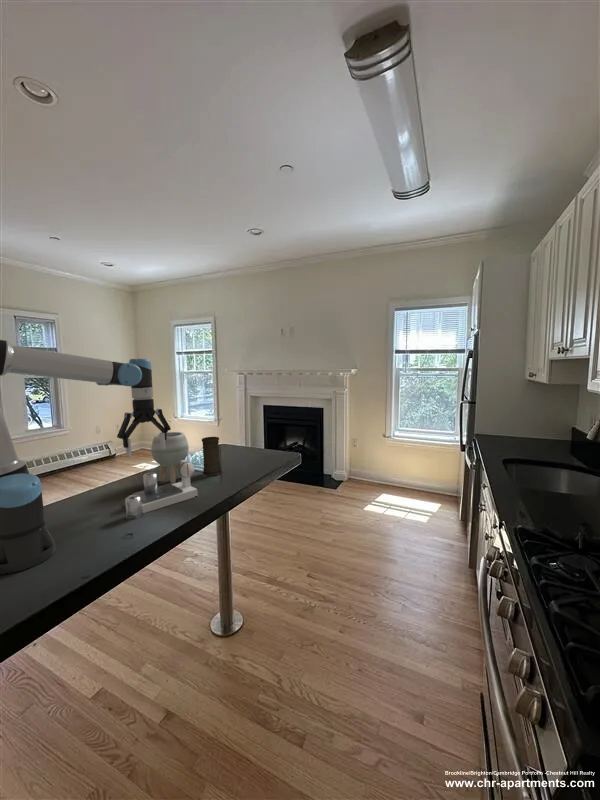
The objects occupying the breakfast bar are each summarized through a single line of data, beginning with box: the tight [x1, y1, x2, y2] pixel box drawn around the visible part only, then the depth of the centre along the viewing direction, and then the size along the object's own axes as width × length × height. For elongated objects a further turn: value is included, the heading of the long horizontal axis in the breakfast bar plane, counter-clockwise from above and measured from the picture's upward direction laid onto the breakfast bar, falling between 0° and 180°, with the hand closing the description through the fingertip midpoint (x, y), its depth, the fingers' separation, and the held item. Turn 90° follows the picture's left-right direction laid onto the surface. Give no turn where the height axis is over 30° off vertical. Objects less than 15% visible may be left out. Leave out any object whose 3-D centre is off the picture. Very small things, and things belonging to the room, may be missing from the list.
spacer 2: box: [142, 471, 158, 494], centre depth 136 cm, size 5×5×7 cm
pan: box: [132, 482, 183, 504], centre depth 136 cm, size 15×12×1 cm
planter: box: [150, 431, 189, 484], centre depth 158 cm, size 16×16×22 cm
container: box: [201, 436, 222, 477], centre depth 169 cm, size 9×9×18 cm
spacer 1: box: [124, 494, 143, 520], centre depth 123 cm, size 5×5×7 cm
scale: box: [130, 459, 198, 514], centre depth 138 cm, size 24×14×14 cm, turn 135°
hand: (146, 452), depth 134 cm, fingers open, 13 cm apart
